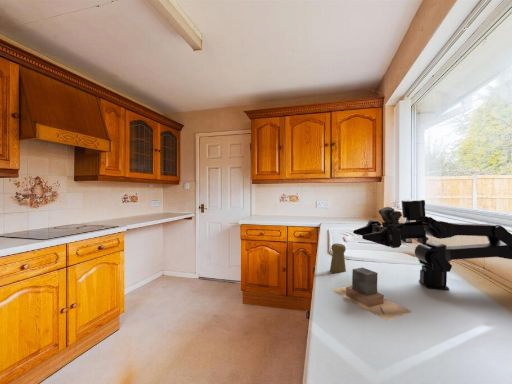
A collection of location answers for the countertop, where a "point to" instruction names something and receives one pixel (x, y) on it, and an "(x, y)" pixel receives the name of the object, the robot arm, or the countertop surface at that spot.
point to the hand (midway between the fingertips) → (357, 234)
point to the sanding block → (365, 288)
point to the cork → (338, 259)
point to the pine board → (384, 311)
